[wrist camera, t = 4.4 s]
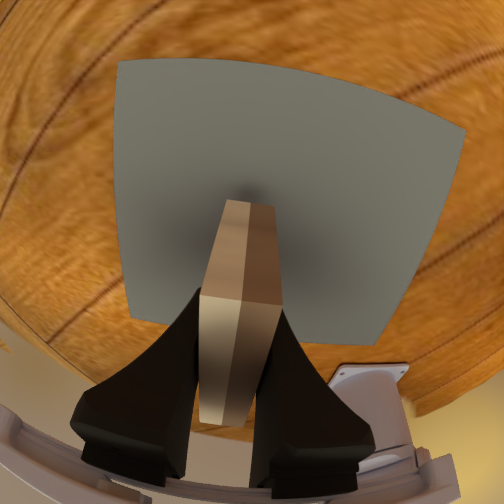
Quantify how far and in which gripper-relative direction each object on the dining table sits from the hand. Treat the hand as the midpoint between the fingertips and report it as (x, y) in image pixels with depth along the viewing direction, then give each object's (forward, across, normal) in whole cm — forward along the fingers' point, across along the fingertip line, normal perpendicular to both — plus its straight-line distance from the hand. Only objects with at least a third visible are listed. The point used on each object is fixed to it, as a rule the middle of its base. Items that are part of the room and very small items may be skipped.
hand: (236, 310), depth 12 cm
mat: (+6, -2, -1) cm, 6 cm away
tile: (+2, 0, 0) cm, 3 cm away
